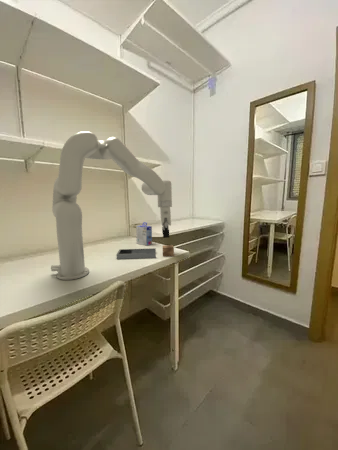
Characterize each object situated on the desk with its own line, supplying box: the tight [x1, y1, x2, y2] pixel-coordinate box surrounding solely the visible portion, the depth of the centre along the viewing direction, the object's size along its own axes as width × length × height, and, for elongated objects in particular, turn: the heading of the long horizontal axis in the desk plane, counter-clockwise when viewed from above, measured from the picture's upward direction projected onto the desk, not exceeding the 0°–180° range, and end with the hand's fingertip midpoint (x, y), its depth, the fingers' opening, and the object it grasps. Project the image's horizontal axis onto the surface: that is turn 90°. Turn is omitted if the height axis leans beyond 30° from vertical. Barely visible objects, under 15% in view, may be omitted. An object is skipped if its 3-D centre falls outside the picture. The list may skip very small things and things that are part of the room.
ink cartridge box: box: [135, 221, 153, 246], centre depth 140 cm, size 10×6×14 cm, turn 53°
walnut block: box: [162, 244, 175, 257], centre depth 116 cm, size 6×5×5 cm
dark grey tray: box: [115, 247, 157, 260], centre depth 115 cm, size 20×10×2 cm, turn 94°
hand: (165, 235), depth 115 cm, fingers open, 9 cm apart
